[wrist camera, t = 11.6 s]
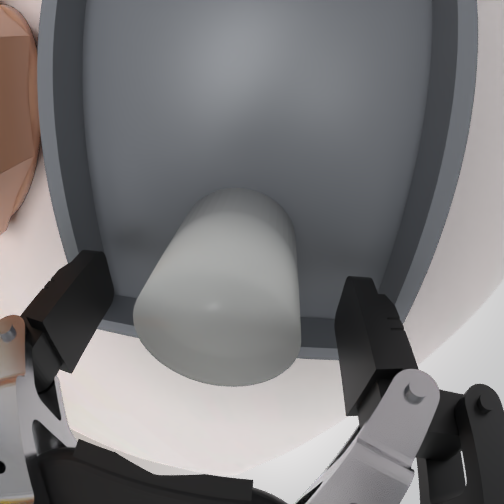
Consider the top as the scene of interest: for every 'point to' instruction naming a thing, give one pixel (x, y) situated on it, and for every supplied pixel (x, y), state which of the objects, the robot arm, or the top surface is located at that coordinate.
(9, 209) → the terracotta bowl
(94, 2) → the parts tray
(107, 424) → the top surface
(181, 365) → the grey rounded piece
